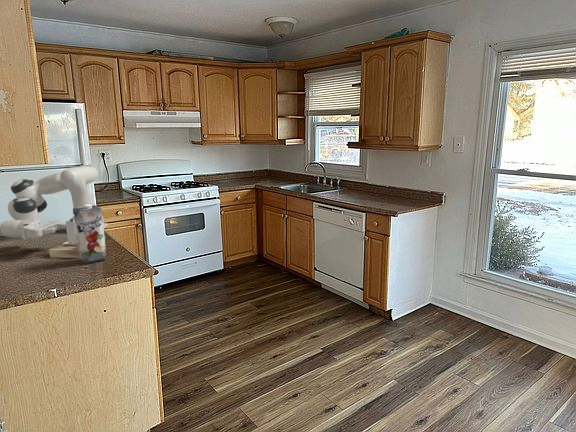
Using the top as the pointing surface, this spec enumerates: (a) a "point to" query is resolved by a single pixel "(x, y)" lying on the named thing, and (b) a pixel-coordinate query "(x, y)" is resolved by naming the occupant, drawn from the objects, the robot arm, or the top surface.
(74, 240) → the square capped bottle
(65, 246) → the birch stand
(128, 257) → the top surface
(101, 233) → the juice carton
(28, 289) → the top surface
